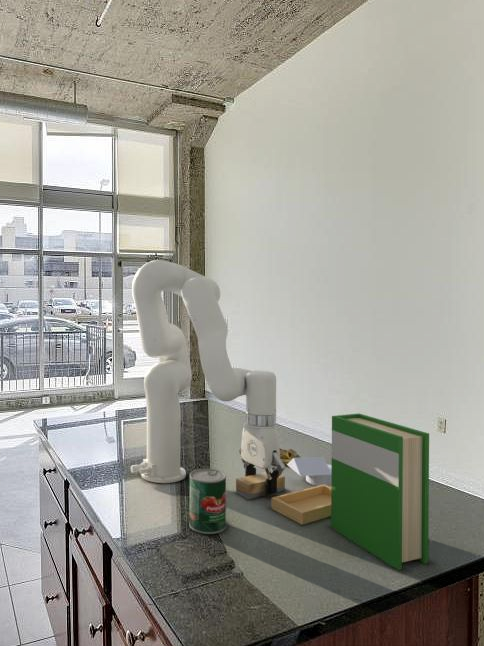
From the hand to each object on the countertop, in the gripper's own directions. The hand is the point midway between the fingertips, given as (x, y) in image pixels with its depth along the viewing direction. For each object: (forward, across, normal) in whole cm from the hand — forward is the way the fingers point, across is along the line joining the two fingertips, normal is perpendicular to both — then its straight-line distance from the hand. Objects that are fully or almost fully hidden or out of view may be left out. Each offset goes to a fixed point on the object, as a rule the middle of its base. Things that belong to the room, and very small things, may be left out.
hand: (260, 488), depth 123 cm
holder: (+1, +14, +4) cm, 15 cm away
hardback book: (+1, +32, +2) cm, 32 cm away
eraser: (+1, 0, 0) cm, 1 cm away
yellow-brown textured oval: (+1, -16, +24) cm, 29 cm away
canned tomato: (+1, +9, -23) cm, 25 cm away
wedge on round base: (+1, +2, +18) cm, 18 cm away
